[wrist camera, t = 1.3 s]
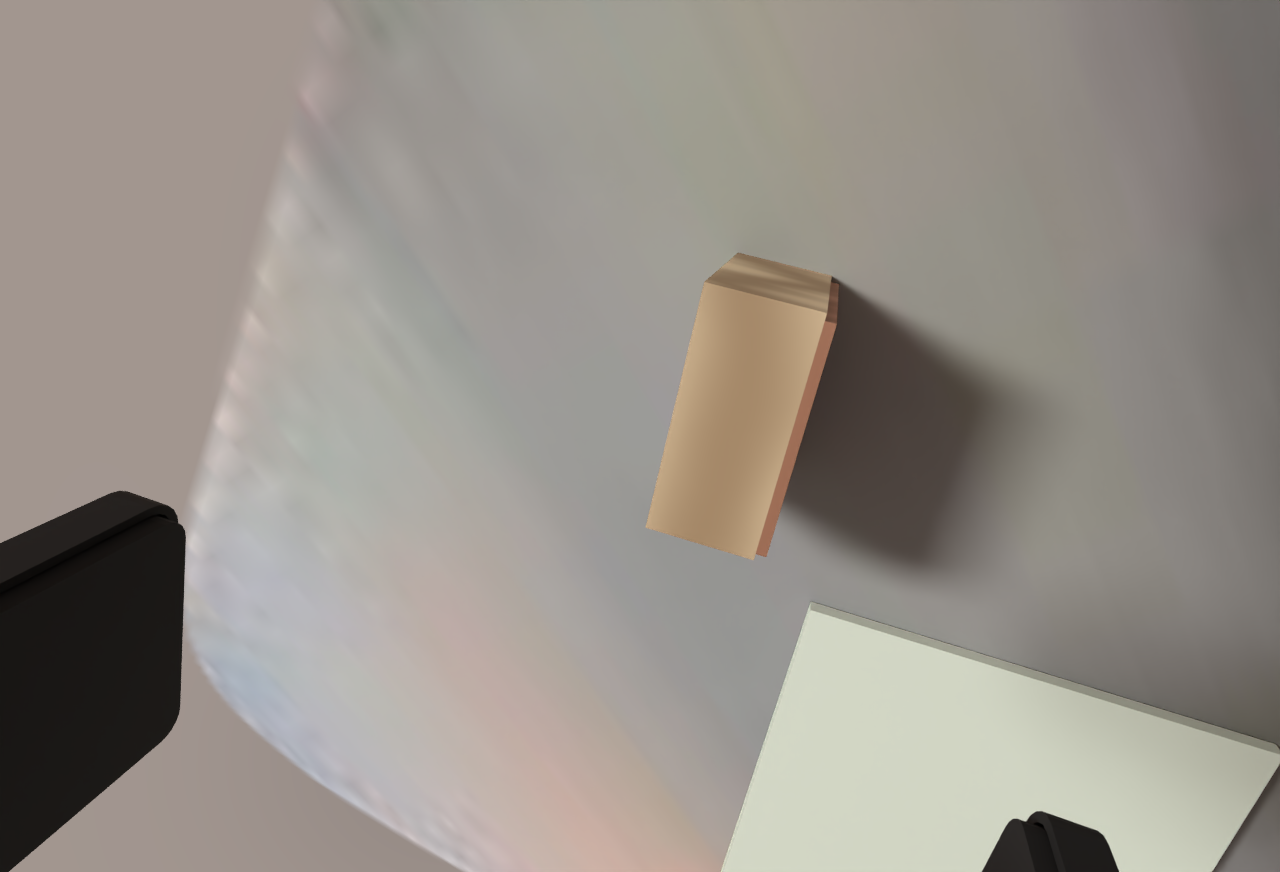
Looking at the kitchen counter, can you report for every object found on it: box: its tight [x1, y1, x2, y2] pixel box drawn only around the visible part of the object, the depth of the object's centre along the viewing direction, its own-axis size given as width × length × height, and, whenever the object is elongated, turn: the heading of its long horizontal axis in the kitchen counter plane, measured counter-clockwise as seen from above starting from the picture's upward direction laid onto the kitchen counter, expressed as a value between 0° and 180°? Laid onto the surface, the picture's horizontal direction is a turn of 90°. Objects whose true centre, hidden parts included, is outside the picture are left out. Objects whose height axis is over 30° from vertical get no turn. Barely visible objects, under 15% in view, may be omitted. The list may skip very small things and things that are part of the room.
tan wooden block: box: [646, 253, 839, 560], centre depth 25 cm, size 3×7×7 cm, turn 168°
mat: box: [721, 602, 1280, 872], centre depth 32 cm, size 16×16×1 cm
